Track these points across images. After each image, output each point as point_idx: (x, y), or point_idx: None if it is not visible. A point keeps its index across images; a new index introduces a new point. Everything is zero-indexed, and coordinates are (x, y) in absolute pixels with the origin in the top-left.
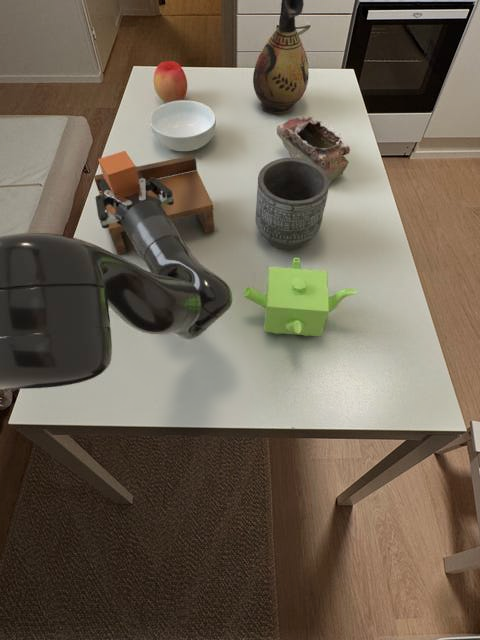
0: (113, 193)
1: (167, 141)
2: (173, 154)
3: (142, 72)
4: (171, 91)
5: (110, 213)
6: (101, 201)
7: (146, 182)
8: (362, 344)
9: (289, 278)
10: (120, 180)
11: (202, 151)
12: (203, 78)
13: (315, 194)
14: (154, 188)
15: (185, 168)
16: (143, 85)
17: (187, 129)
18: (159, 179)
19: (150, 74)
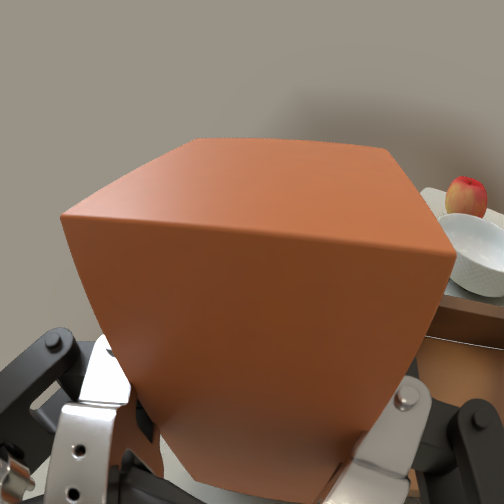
0: (124, 383)
1: (455, 263)
2: (450, 289)
3: (430, 190)
4: (467, 208)
5: (5, 476)
6: (28, 376)
7: (424, 420)
8: None
9: None
10: (186, 337)
11: (494, 304)
12: (494, 218)
13: None
14: (442, 470)
15: (499, 338)
16: (428, 199)
17: (478, 261)
18: (428, 339)
19: (438, 194)
